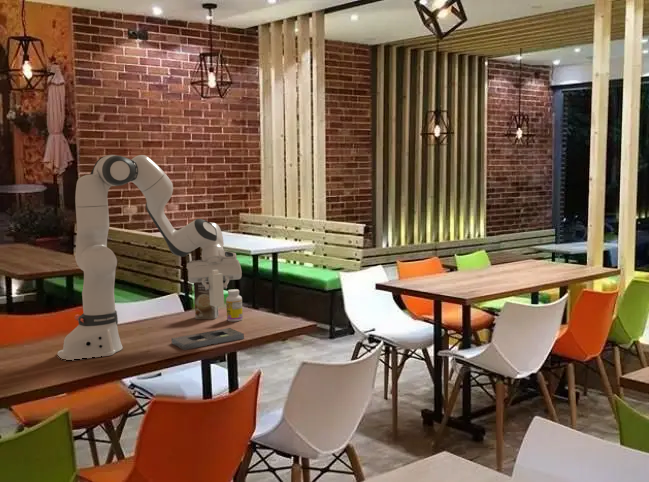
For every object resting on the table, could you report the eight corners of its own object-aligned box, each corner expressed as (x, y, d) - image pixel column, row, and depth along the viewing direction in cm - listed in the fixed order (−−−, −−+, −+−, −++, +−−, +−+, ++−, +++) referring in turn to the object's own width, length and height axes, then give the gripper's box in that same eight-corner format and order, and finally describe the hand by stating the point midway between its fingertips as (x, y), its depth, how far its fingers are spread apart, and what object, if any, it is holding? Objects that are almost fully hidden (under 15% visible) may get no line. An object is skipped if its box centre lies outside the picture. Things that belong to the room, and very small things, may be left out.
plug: (214, 306, 264) (212, 271, 262) (210, 305, 267) (207, 270, 266) (224, 305, 266) (222, 270, 264) (219, 303, 269) (217, 268, 268)
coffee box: (194, 319, 303) (192, 282, 302) (198, 316, 310) (196, 280, 308) (215, 319, 303) (213, 282, 301) (219, 315, 309) (217, 279, 307)
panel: (184, 350, 254) (183, 343, 254) (171, 343, 264) (171, 337, 264) (243, 338, 267) (243, 332, 267) (230, 332, 277) (229, 327, 277)
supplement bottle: (225, 319, 301) (224, 289, 300) (241, 317, 303) (239, 288, 302) (228, 322, 295) (226, 292, 294) (244, 320, 297) (242, 290, 295)
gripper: (186, 256, 269) (187, 285, 261) (239, 252, 273) (243, 281, 265) (186, 266, 274) (188, 295, 266) (239, 262, 278) (242, 291, 270)
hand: (216, 288), depth 265 cm, fingers closed on plug, 5 cm apart
